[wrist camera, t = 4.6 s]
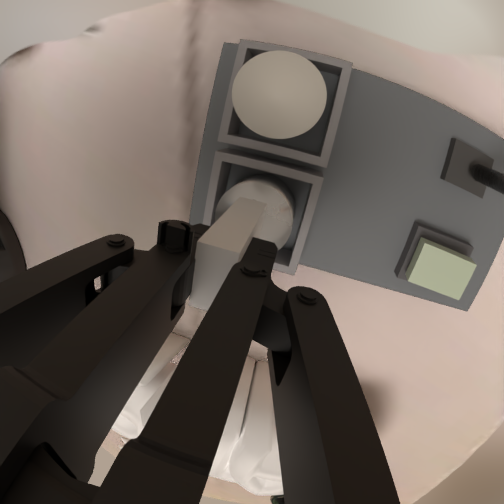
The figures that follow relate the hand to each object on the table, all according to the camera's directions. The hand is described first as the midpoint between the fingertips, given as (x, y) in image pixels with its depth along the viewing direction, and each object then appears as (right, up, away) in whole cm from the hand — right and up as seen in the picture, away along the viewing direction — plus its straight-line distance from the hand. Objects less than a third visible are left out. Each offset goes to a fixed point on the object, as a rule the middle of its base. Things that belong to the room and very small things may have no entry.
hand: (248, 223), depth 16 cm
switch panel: (+9, +4, +4) cm, 11 cm away
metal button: (+1, +1, +3) cm, 4 cm away
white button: (+2, +7, -1) cm, 7 cm away
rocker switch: (+13, -2, +2) cm, 14 cm away
